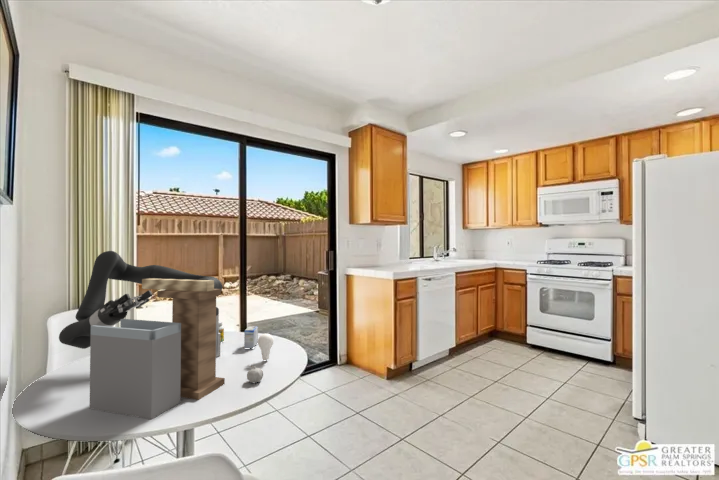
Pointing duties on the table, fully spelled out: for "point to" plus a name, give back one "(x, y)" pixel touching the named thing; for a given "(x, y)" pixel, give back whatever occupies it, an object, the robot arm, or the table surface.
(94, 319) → the robot arm
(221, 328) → the supplement bottle
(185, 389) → the post
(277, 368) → the table surface
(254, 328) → the medicine box
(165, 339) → the tray stand
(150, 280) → the tan wooden bar
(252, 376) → the garlic
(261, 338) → the lightbulb
